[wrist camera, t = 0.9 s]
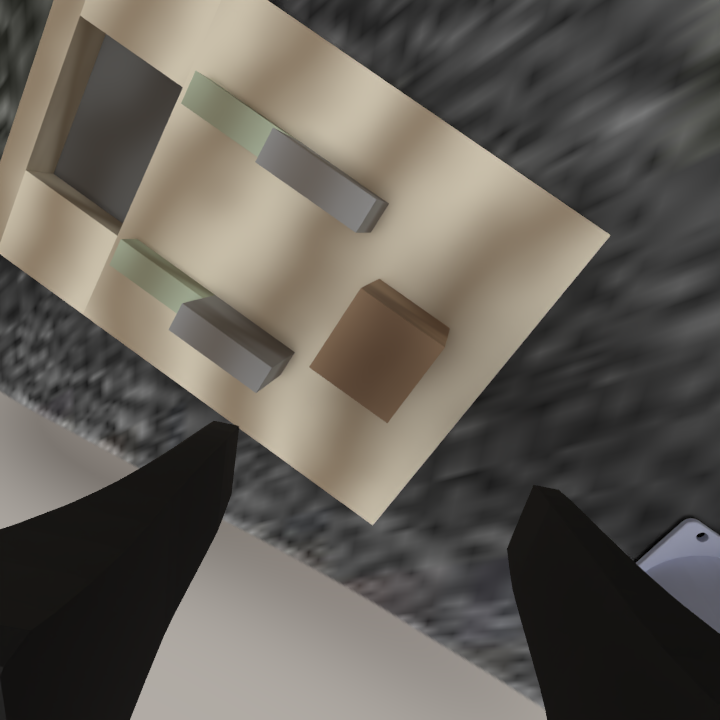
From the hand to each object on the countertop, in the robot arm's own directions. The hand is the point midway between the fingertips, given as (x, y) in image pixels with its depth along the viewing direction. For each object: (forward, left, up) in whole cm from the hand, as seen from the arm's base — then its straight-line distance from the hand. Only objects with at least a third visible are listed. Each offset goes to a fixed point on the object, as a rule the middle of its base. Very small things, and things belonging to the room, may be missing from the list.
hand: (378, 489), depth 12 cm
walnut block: (+2, 0, -12) cm, 13 cm away
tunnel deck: (+11, 0, -14) cm, 18 cm away
